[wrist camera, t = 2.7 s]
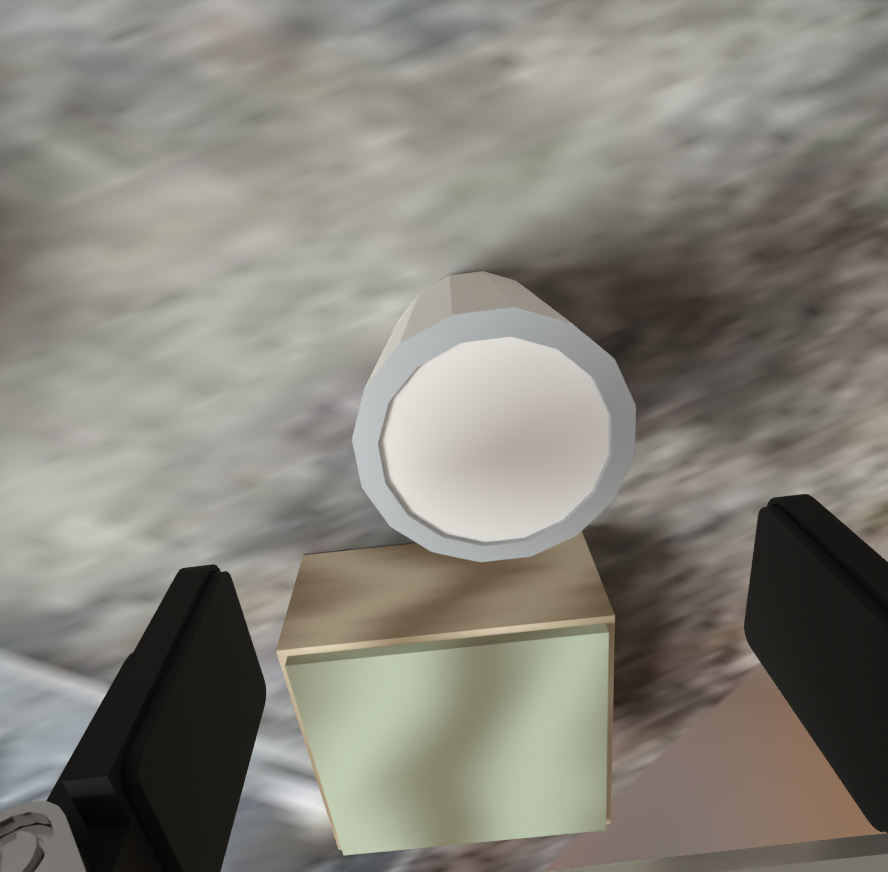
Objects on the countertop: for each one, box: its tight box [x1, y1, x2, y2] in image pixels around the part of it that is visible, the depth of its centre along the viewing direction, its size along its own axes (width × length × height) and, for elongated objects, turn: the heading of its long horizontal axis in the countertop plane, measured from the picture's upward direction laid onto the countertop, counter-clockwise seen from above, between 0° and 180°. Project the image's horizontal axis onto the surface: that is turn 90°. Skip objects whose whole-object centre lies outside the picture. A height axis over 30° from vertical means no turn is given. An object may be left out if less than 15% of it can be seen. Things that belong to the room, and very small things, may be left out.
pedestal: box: [276, 531, 615, 855], centre depth 24 cm, size 11×11×5 cm
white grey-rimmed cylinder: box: [352, 271, 636, 562], centre depth 18 cm, size 7×7×7 cm
